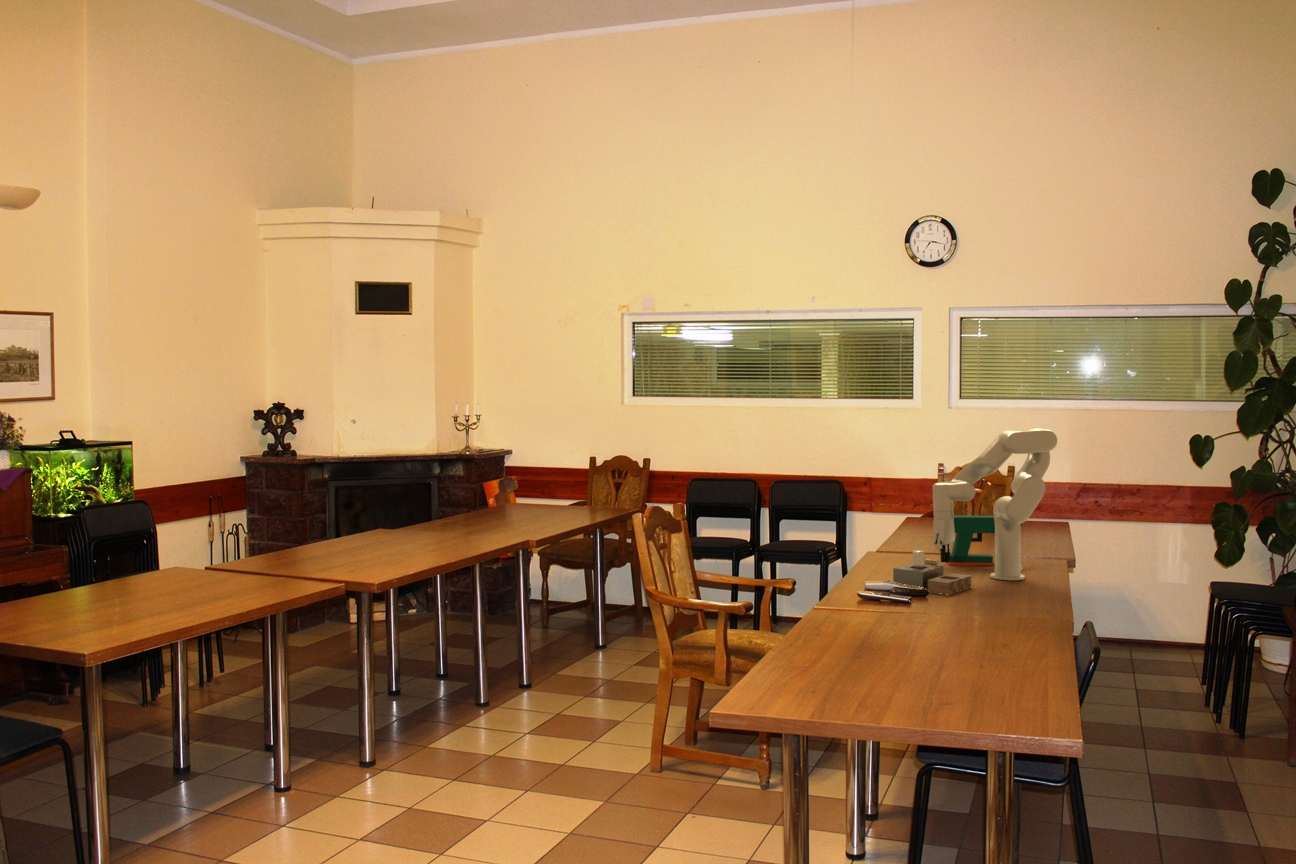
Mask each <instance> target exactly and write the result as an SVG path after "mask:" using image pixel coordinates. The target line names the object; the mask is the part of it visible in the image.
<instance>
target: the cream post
mask: <svg viewBox="0 0 1296 864" xmlns="http://www.w3.org/2000/svg"><path fill="white" fill-rule="evenodd" d="M925 559H926V551H925V550H917V549H916V550H912V563H913V568H917V569H924V568H925Z"/></svg>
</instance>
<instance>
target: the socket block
mask: <svg viewBox="0 0 1296 864" xmlns="http://www.w3.org/2000/svg"><path fill="white" fill-rule="evenodd" d="M944 570H945V569H944V565H938V566H937V565H929V564H925V568H924V569H917V568H913V562H912V563H908V564H904V565H900V566H895V567H894V568H893V571H892V574H893V575H892V576H893V577H892V581H895V582H898V583H902V584H908V585H916V586H920V587H924V588H926V589H928V580H930V579H933V578H937V577H940V576H944V575H945V574H944Z"/></svg>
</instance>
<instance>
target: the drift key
mask: <svg viewBox="0 0 1296 864" xmlns="http://www.w3.org/2000/svg"><path fill="white" fill-rule="evenodd" d="M925 564H929V565H937V566H939V560H938V559H931V558H925Z"/></svg>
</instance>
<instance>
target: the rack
mask: <svg viewBox="0 0 1296 864" xmlns="http://www.w3.org/2000/svg"><path fill="white" fill-rule="evenodd" d="M970 587H971V588H972V575H968V574H959V573H947V574H944V576H940V577H937V578H933V579H930V580H928V590H927V592H928V591H929V592H931V593H930V594H936V593H942V594H941V595H943V594H951V593H954V592H957V591H960V590H963V591H965V590H964V589H966V590H968V589H967V588H969V589H971V588H970ZM960 592H961V591H960ZM957 593H958V592H957ZM954 594H955V593H954ZM951 595H952V594H951Z"/></svg>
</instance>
